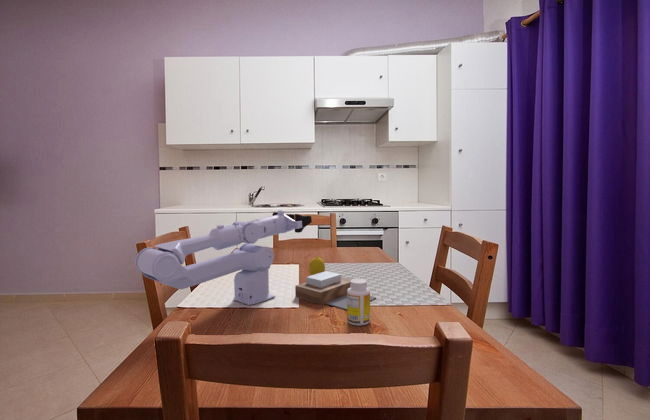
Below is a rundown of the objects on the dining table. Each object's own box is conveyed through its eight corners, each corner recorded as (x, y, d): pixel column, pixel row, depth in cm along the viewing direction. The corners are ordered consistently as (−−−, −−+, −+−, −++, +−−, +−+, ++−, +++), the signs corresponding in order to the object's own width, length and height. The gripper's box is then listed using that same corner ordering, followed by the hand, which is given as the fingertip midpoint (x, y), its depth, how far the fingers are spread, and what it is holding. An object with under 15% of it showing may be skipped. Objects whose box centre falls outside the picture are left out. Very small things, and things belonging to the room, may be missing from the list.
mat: (348, 310, 98) (348, 309, 98) (325, 303, 104) (325, 302, 104) (376, 298, 108) (376, 297, 108) (354, 292, 113) (354, 291, 113)
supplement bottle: (367, 317, 94) (367, 277, 93) (372, 326, 88) (372, 283, 87) (345, 318, 93) (345, 278, 92) (348, 327, 88) (349, 284, 87)
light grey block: (321, 287, 107) (321, 280, 107) (306, 283, 111) (306, 276, 111) (340, 280, 114) (340, 274, 114) (326, 277, 118) (326, 271, 118)
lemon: (306, 278, 129) (306, 255, 129) (321, 276, 132) (320, 254, 131) (312, 282, 124) (312, 258, 124) (327, 280, 127) (327, 257, 126)
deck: (320, 304, 103) (320, 292, 102) (295, 297, 109) (295, 285, 109) (355, 291, 115) (355, 280, 114) (330, 285, 121) (330, 274, 121)
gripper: (285, 214, 106) (317, 207, 116) (253, 211, 115) (285, 205, 125) (287, 238, 107) (319, 229, 117) (255, 233, 116) (287, 225, 126)
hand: (302, 218), depth 121 cm, fingers open, 7 cm apart
